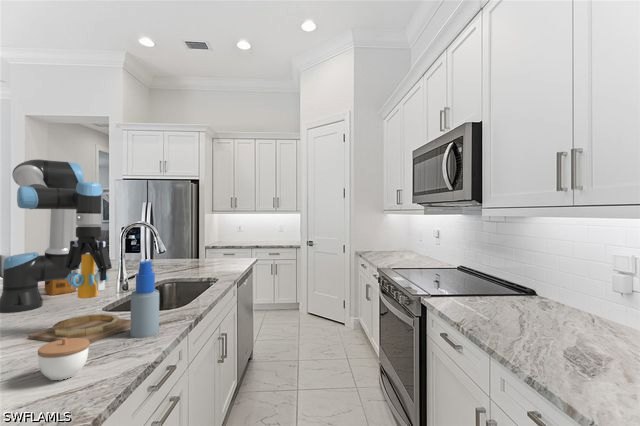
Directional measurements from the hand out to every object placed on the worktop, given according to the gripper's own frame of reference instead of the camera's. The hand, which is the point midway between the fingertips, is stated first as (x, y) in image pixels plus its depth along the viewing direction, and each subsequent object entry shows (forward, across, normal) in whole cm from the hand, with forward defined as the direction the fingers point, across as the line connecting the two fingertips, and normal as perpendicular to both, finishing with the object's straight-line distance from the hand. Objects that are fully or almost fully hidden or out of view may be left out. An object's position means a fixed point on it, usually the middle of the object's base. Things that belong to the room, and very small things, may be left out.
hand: (88, 288), depth 123 cm
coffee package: (+14, -64, +43) cm, 79 cm away
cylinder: (+3, 0, 0) cm, 3 cm away
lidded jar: (+15, +24, -28) cm, 40 cm away
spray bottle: (+15, +21, +4) cm, 26 cm away
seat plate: (+15, 0, 0) cm, 15 cm away
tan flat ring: (+14, 0, 0) cm, 14 cm away
